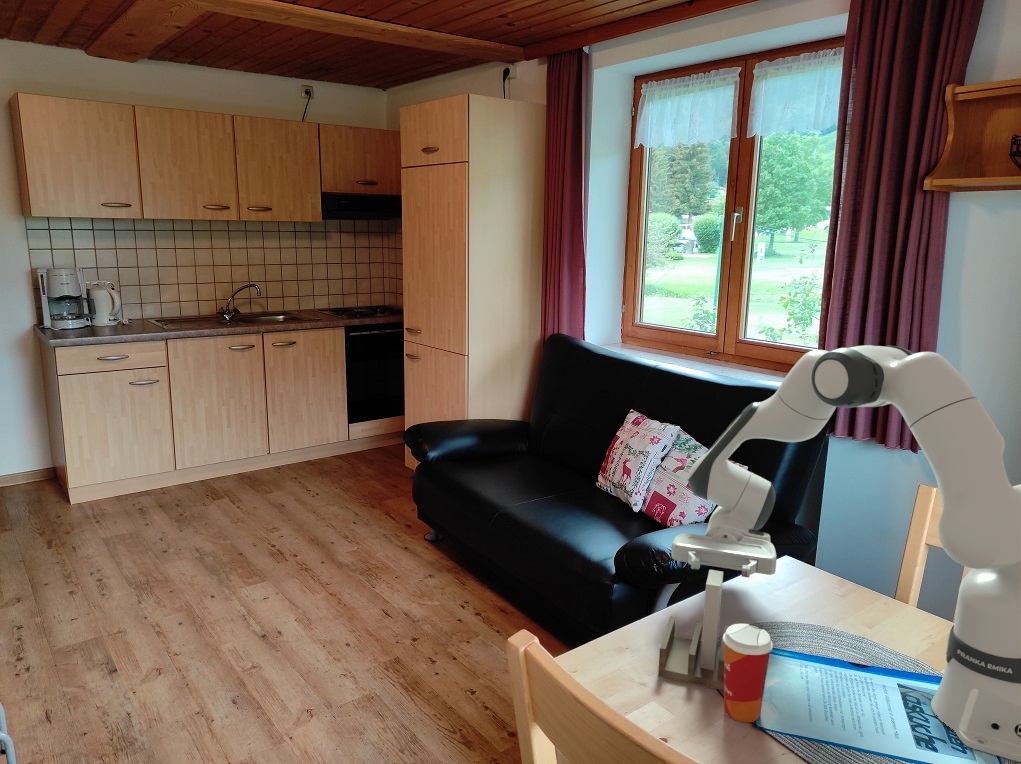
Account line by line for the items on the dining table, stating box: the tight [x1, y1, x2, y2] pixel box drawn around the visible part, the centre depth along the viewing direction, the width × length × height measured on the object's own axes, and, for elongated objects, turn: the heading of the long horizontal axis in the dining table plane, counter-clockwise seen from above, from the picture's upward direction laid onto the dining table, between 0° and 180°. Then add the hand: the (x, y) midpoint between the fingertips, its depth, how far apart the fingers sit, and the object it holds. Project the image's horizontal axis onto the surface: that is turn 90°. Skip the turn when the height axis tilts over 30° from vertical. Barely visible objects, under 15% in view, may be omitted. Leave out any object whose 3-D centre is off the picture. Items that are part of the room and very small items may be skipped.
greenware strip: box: [700, 569, 724, 670], centre depth 133 cm, size 2×6×16 cm, turn 160°
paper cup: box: [722, 623, 774, 724], centre depth 122 cm, size 8×8×14 cm
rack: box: [657, 615, 729, 691], centre depth 135 cm, size 16×12×6 cm
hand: (720, 569), depth 144 cm, fingers open, 8 cm apart
